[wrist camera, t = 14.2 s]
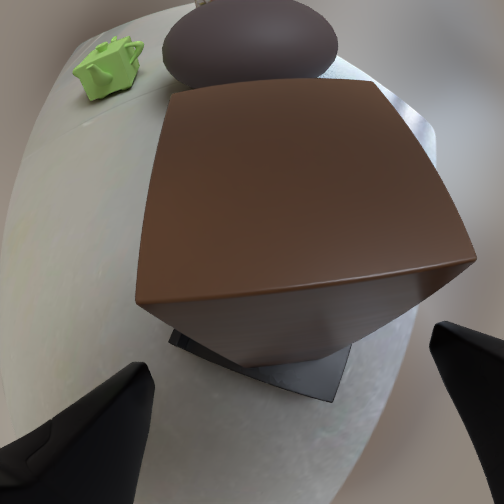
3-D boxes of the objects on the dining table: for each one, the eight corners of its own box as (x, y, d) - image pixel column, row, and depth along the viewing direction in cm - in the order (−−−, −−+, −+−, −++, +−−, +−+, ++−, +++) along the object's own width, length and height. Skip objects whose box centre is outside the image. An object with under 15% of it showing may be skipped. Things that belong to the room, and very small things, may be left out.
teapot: (126, 68, 46) (113, 31, 37) (165, 68, 43) (152, 24, 33) (74, 106, 41) (55, 68, 31) (106, 111, 37) (84, 62, 28)
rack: (374, 175, 26) (389, 136, 21) (321, 399, 17) (338, 405, 12) (285, 150, 28) (285, 109, 23) (193, 353, 19) (167, 342, 14)
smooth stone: (173, 144, 30) (136, 34, 17) (175, 68, 42) (158, 3, 28) (362, 115, 31) (381, 16, 18) (300, 50, 42) (301, -14, 29)
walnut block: (323, 358, 15) (479, 259, 3) (244, 368, 15) (133, 304, 3) (312, 286, 17) (373, 80, 5) (239, 294, 17) (170, 93, 5)
